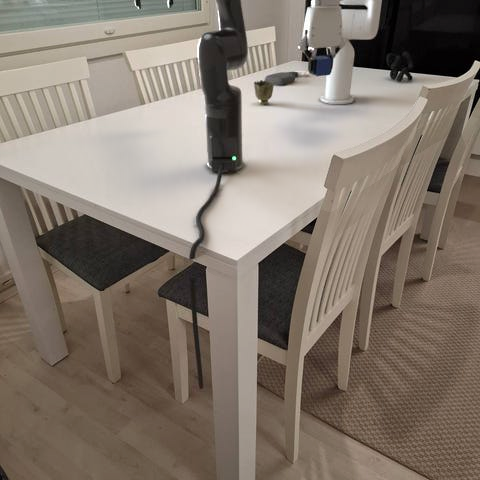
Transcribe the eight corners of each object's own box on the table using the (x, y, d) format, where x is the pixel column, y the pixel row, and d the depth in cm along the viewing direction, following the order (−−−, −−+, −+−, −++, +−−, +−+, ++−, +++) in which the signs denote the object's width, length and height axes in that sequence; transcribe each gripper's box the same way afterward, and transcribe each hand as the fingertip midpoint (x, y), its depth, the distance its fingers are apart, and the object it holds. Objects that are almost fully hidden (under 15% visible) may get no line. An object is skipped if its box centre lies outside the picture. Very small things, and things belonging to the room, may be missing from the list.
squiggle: (400, 92, 202) (376, 71, 205) (417, 76, 202) (392, 56, 205) (405, 81, 191) (380, 59, 194) (423, 64, 191) (397, 42, 194)
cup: (250, 105, 169) (250, 83, 165) (259, 100, 175) (259, 79, 171) (268, 107, 166) (268, 85, 162) (276, 102, 172) (277, 80, 168)
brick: (330, 74, 127) (331, 58, 125) (316, 76, 126) (317, 59, 123) (322, 71, 131) (323, 55, 128) (309, 72, 130) (310, 56, 127)
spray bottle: (262, 82, 200) (292, 74, 216) (282, 86, 194) (312, 76, 210) (262, 76, 198) (293, 67, 214) (282, 79, 192) (312, 70, 208)
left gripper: (171, -61, 122) (177, 6, 131) (118, -61, 118) (127, 8, 127) (176, -62, 116) (182, 8, 125) (121, -62, 112) (130, 10, 121)
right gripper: (346, -2, 123) (339, 68, 133) (290, 1, 119) (287, 73, 129) (360, 0, 117) (352, 73, 127) (302, 3, 113) (298, 78, 123)
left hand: (154, 8), depth 126 cm, fingers open, 8 cm apart
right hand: (320, 72), depth 128 cm, fingers closed on brick, 4 cm apart
